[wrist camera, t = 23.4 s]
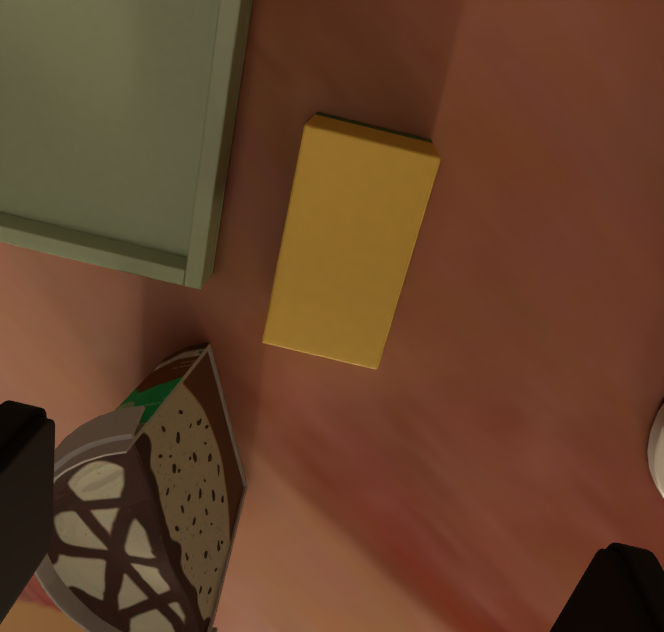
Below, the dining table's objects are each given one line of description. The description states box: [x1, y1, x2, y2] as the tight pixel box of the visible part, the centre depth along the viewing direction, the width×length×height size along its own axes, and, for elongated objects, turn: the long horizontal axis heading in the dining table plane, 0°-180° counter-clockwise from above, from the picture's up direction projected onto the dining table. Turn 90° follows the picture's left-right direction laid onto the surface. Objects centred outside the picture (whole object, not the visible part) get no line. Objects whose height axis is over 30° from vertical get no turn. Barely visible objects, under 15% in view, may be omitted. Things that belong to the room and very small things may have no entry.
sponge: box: [262, 112, 441, 369], centre depth 24 cm, size 5×9×4 cm, turn 167°
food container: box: [35, 343, 248, 632], centre depth 27 cm, size 12×6×10 cm, turn 8°
